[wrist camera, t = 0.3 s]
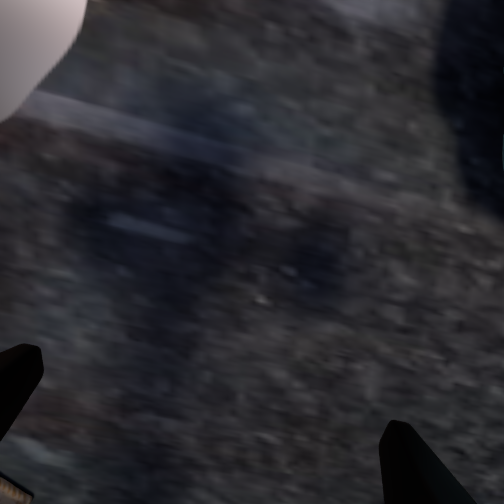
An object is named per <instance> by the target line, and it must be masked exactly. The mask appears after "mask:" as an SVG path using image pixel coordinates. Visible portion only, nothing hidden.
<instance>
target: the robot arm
mask: <svg viewBox="0 0 504 504" xmlns="http://www.w3.org/2000/svg"><path fill="white" fill-rule="evenodd" d="M43 373H44V367H43V360H42V353H41V349H40V348H39V347H38V346H35V345H30V344H20V345H17V346H15V347H12V348H10V349H8V350H5V351H3V352H1V353H0V441H1V440H2V439H3V437H4V436H5V434H6V433H7V431H8V430H9V428H10V427H11V425H12V424H13V422H14V421H15V419H16V417H17V416H18V414H19V413H20V411H21V410H22V408H23V407H24V405H25V404H26V402H27V400H28V399H29V397H30V396H31V394H32V393H33V391H34V390H35V388H36V386H37V385H38V383H39V382H40V380H41V378H42V376H43ZM379 457H380V466H381V475H382V484H383V493H384V502H385V504H477V503H476V502H475V501H474V500H473V498H472V497H471V496H470V495H469V494H468V492H467V491H466V490H465V489H464V488H463V487H462V485H461V484H460V483H459V482H458V481H457V479H456V478H455V477H454V476H453V475H452V474H451V472H450V471H449V470H448V469H447V468H446V466H445V465H444V464H443V463H442V462H441V460H440V459H439V458H438V457H437V456H436V455H435V453H434V452H433V451H432V450H431V449H430V447H429V446H428V445H427V444H426V443H425V442H424V440H423V439H422V438H421V437H420V436H419V434H418V433H417V432H416V431H415V430H414V428H413V427H412V426H411V425H410V424H408V423H406V422H402V421H397V420H391V421H390V422H389V423H388V425H387V427H386V429H385V431H384V433H383V435H382V437H381V439H380V442H379Z"/></svg>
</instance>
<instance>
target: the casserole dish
mask: <svg viewBox="0 0 504 504" xmlns="http://www.w3.org/2000/svg"><path fill="white" fill-rule="evenodd" d="M503 72H504V69H503ZM502 161H503V169H504V136H503V148H502Z"/></svg>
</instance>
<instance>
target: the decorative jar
mask: <svg viewBox="0 0 504 504" xmlns="http://www.w3.org/2000/svg"><path fill="white" fill-rule="evenodd" d="M31 501H32V496H30V495H28V494H26V493H25V492H23V491H21V490H20V489H19V488H16V487H15V486H14V485H13V484H11V483H10V482H8V481H7V480H5V479H3V478H2V477H0V504H30V503H31Z"/></svg>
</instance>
